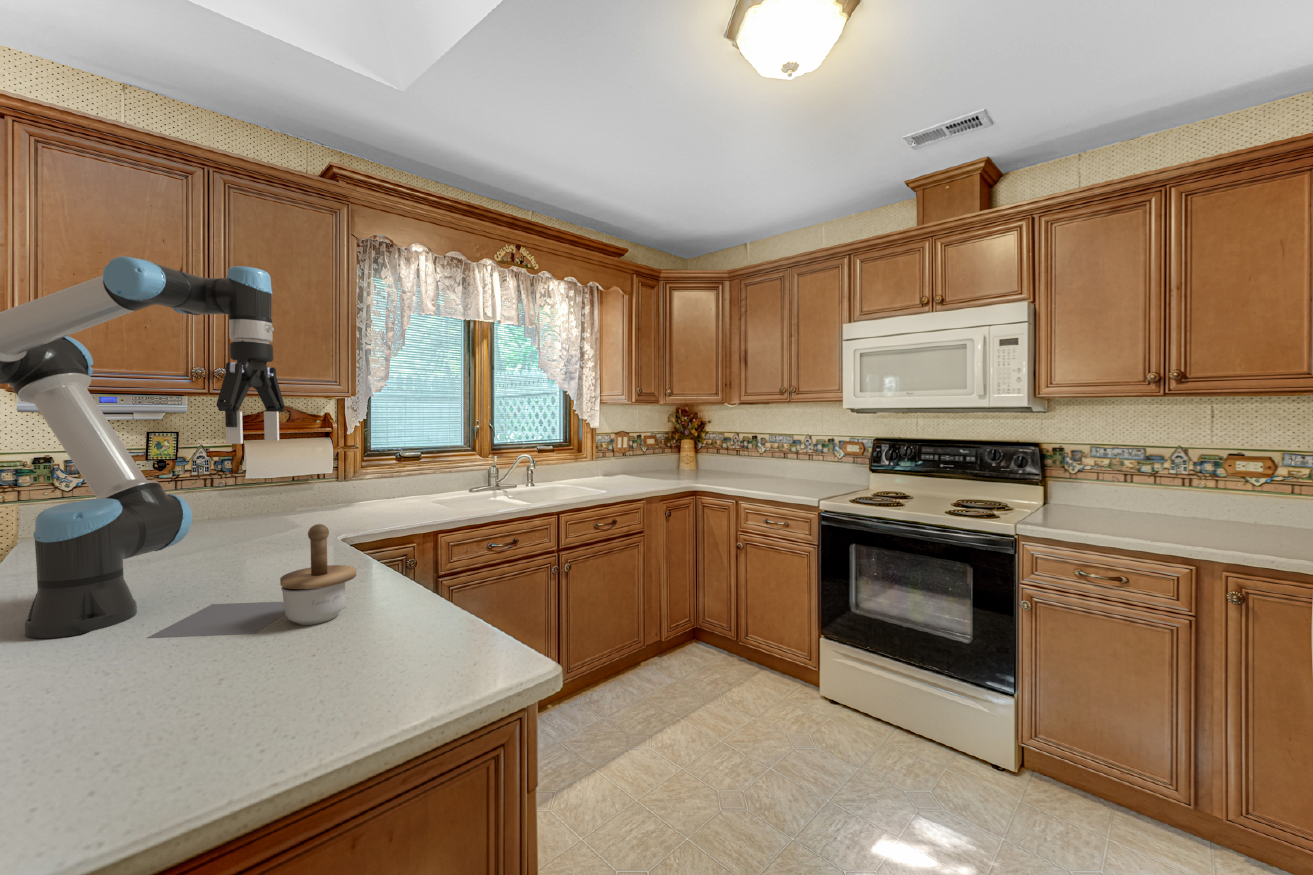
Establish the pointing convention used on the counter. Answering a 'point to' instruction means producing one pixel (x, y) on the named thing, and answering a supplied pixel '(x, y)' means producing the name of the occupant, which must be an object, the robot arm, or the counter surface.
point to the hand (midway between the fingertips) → (254, 442)
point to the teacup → (314, 603)
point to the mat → (225, 620)
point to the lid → (318, 566)
